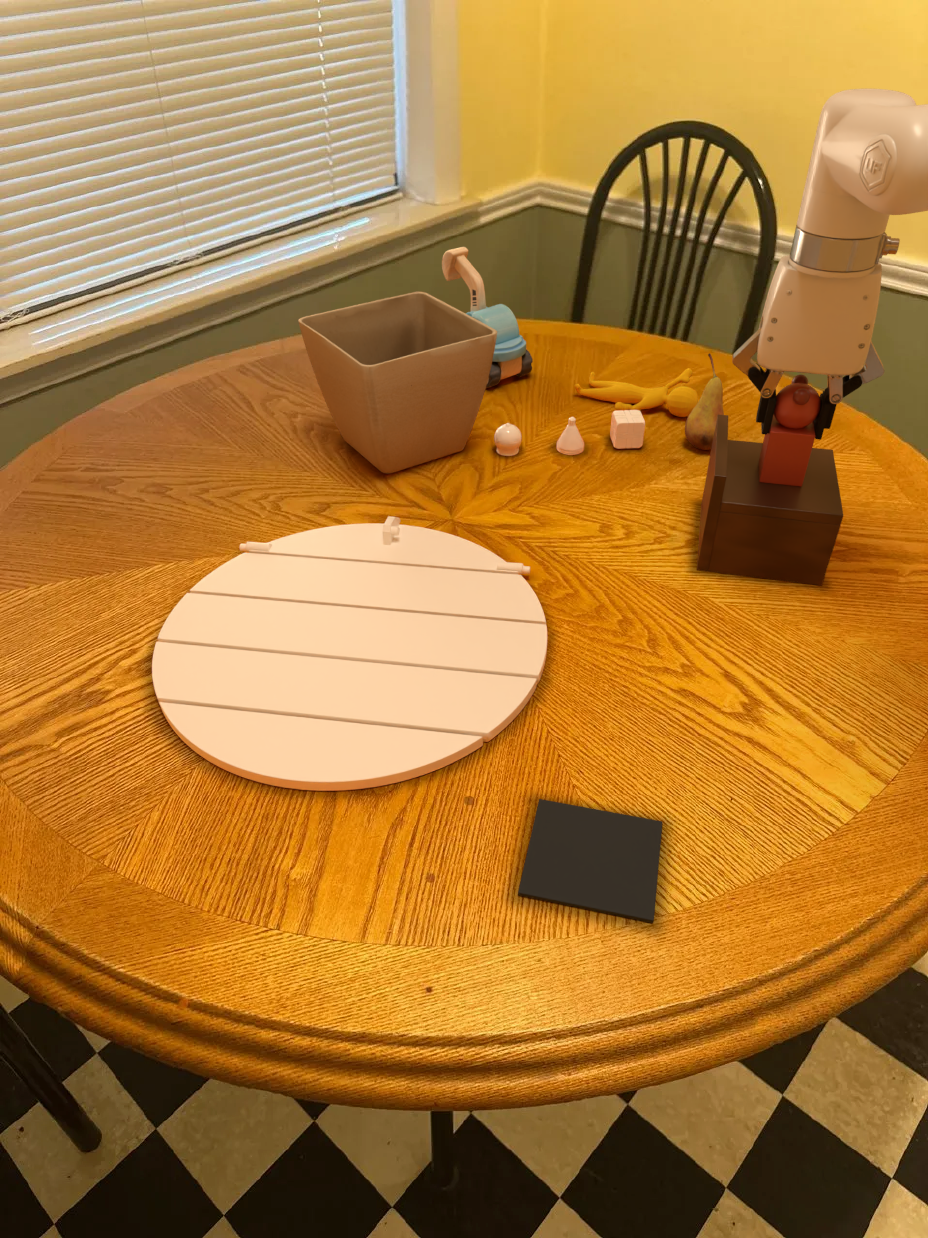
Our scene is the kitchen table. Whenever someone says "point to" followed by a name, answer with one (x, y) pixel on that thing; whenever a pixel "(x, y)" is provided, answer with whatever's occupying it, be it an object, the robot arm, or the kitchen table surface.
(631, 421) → the decorative object set
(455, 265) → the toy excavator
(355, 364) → the flower pot
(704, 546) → the wooden box with backboard
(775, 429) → the ball-topped red block
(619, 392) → the figurine
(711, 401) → the fruit
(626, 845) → the mat
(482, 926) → the kitchen table surface
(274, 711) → the round plank board
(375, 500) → the kitchen table surface
